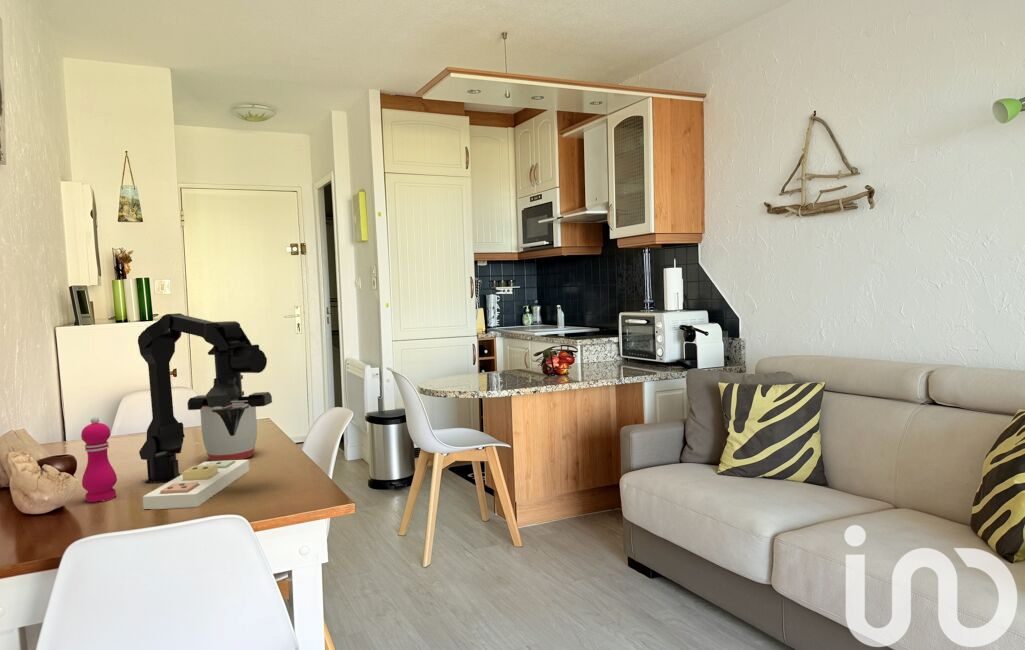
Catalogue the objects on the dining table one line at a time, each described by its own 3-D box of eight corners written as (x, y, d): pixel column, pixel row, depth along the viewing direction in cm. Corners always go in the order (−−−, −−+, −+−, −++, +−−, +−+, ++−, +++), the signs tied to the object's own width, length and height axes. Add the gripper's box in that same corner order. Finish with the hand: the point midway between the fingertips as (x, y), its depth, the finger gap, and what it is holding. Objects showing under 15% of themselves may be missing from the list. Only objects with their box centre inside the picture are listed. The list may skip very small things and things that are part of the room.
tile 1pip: (203, 475, 179) (202, 466, 179) (212, 469, 185) (212, 460, 185) (226, 474, 179) (225, 464, 179) (235, 468, 185) (234, 459, 185)
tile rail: (143, 509, 155) (142, 496, 155) (205, 472, 187) (204, 461, 187) (197, 507, 155) (196, 494, 155) (249, 470, 187) (248, 459, 187)
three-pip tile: (161, 500, 157) (160, 489, 157) (173, 493, 163) (172, 482, 163) (187, 499, 157) (186, 488, 157) (199, 491, 163) (198, 481, 163)
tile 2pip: (183, 481, 168) (182, 471, 168) (194, 475, 174) (193, 465, 174) (207, 480, 168) (206, 470, 168) (217, 473, 174) (217, 464, 174)
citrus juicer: (272, 450, 211) (268, 385, 210) (241, 465, 194) (236, 394, 193) (226, 450, 214) (222, 387, 213) (191, 465, 197) (186, 395, 196)
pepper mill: (93, 505, 161) (86, 420, 160) (77, 501, 165) (70, 418, 164) (124, 496, 167) (117, 415, 166) (108, 493, 171) (102, 413, 170)
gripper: (174, 378, 161) (179, 444, 161) (254, 374, 161) (258, 440, 162) (195, 373, 172) (200, 435, 173) (270, 369, 172) (274, 431, 173)
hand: (232, 435), depth 170 cm, fingers closed
